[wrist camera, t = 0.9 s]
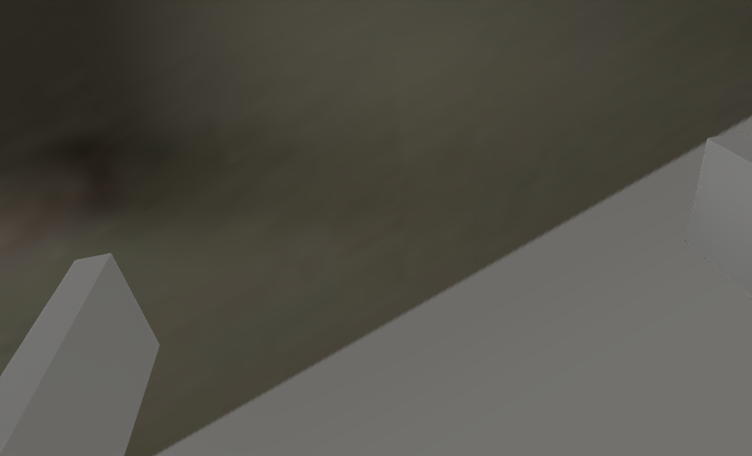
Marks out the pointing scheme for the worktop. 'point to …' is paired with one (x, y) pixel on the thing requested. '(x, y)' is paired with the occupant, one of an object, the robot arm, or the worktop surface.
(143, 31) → the worktop surface
